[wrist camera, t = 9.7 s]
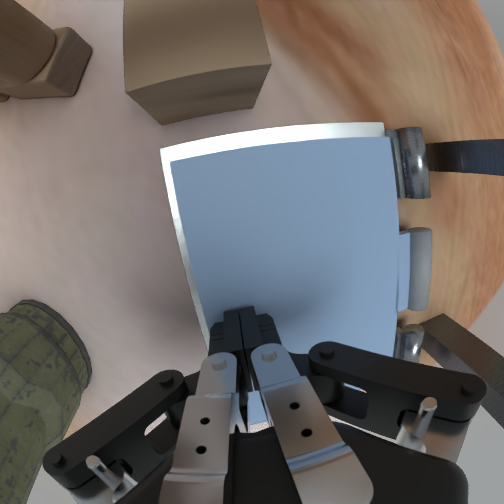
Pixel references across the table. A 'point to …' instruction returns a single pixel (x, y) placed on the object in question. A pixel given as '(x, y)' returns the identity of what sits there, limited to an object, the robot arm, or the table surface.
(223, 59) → the block
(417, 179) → the base leaf
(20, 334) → the thermos
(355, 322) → the pale blue flat slab
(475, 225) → the table surface
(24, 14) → the wooden block
